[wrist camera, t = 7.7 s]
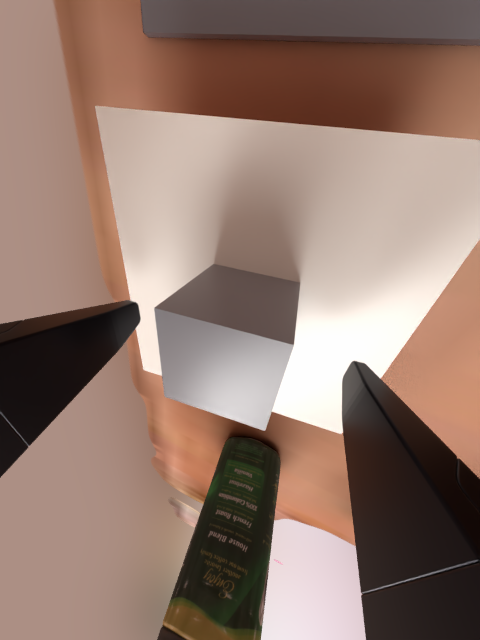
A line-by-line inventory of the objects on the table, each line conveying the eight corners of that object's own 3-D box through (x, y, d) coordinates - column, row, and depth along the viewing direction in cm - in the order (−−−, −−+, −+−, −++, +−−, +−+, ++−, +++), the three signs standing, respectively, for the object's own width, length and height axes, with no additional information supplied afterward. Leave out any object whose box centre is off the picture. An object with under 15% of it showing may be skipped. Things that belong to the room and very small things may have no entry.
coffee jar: (224, 426, 27) (114, 725, 12) (285, 445, 26) (250, 820, 10) (224, 463, 32) (147, 705, 17) (275, 480, 31) (241, 766, 15)
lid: (515, 152, 6) (1039, 48, 2) (339, 419, 14) (353, 529, 9) (115, 114, 9) (-99, 27, 4) (152, 361, 16) (91, 425, 12)
